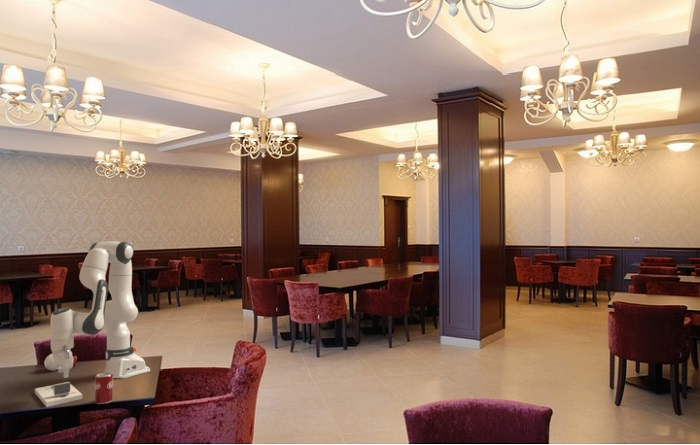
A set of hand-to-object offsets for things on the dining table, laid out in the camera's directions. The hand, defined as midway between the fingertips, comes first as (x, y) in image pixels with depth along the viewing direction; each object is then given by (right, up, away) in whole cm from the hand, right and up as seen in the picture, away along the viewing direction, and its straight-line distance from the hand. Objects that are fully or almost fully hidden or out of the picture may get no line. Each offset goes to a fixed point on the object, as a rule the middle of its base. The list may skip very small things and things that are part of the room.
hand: (63, 374), depth 214 cm
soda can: (+20, -11, -3) cm, 23 cm away
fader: (0, -9, -1) cm, 9 cm away
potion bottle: (-30, -12, +47) cm, 57 cm away
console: (-5, -11, +4) cm, 13 cm away
